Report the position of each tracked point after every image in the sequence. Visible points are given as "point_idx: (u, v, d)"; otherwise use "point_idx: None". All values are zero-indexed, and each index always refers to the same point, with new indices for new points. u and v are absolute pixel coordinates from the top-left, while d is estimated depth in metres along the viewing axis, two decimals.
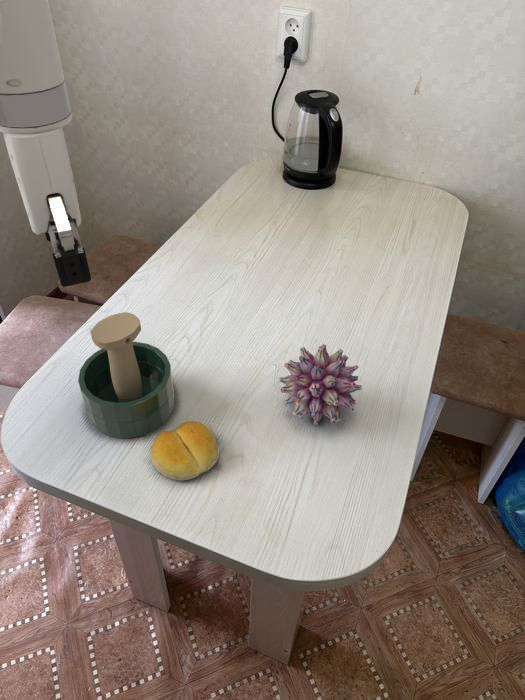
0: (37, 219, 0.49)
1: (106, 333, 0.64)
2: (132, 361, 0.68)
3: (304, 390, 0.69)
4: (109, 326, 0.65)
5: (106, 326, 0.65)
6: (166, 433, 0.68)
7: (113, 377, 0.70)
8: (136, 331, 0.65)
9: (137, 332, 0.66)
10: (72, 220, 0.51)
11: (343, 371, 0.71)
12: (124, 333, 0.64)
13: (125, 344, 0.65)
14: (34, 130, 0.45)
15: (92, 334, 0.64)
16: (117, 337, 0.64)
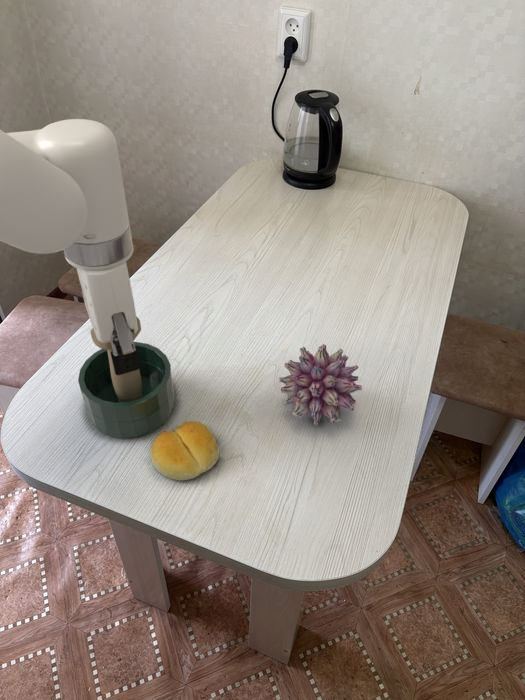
0: (103, 332, 0.59)
1: None
2: None
3: (304, 390, 0.69)
4: None
5: None
6: (166, 433, 0.68)
7: (113, 377, 0.70)
8: None
9: (137, 332, 0.66)
10: (129, 329, 0.62)
11: (343, 371, 0.71)
12: None
13: None
14: (105, 267, 0.55)
15: (92, 334, 0.64)
16: None
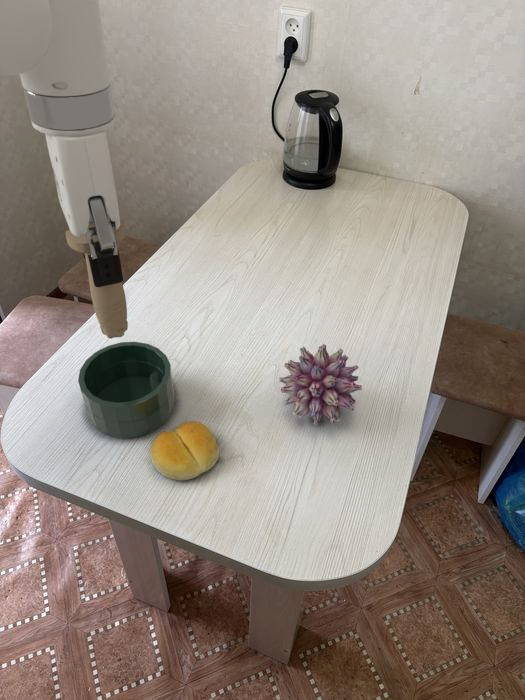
0: (78, 221, 0.49)
1: None
2: None
3: (304, 390, 0.69)
4: None
5: None
6: (166, 433, 0.68)
7: (93, 295, 0.60)
8: (119, 234, 0.56)
9: (121, 236, 0.56)
10: (110, 225, 0.52)
11: (343, 371, 0.71)
12: None
13: None
14: (80, 133, 0.45)
15: (67, 235, 0.54)
16: (97, 239, 0.54)
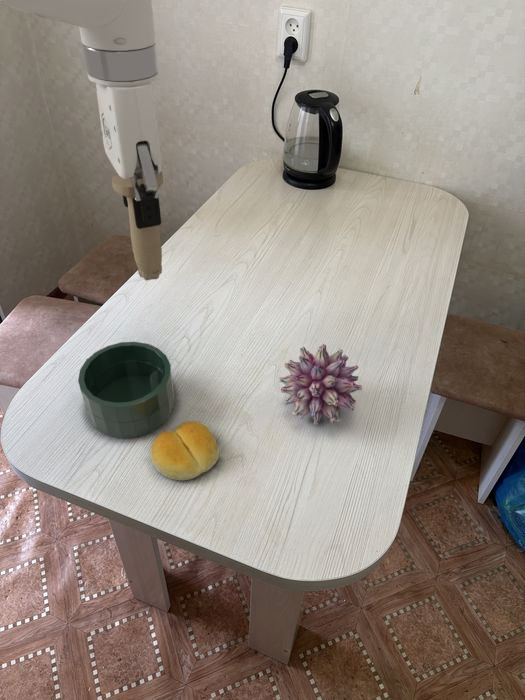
0: (127, 164, 0.56)
1: (128, 180, 0.62)
2: None
3: (304, 390, 0.69)
4: None
5: None
6: (166, 433, 0.68)
7: (133, 238, 0.68)
8: (158, 180, 0.63)
9: (159, 183, 0.64)
10: None
11: (343, 371, 0.71)
12: None
13: None
14: (131, 84, 0.53)
15: (113, 180, 0.62)
16: (139, 183, 0.62)
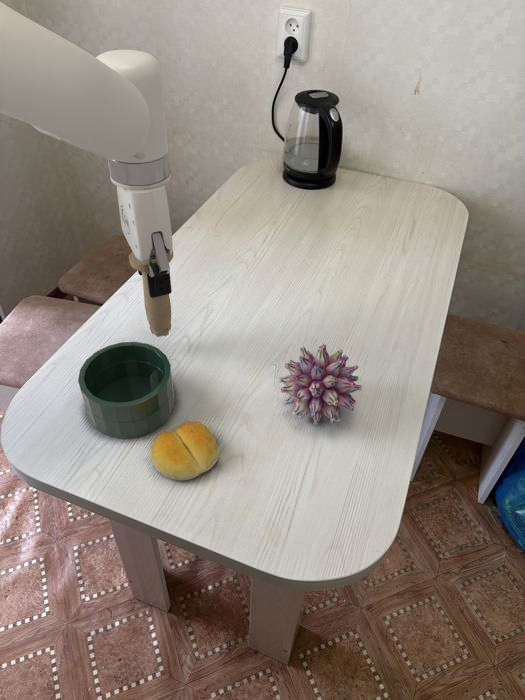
0: (143, 250, 0.65)
1: None
2: None
3: (304, 390, 0.69)
4: None
5: None
6: (166, 433, 0.68)
7: (146, 303, 0.76)
8: (169, 256, 0.72)
9: (170, 258, 0.72)
10: None
11: (343, 371, 0.71)
12: None
13: None
14: (148, 187, 0.61)
15: (130, 258, 0.71)
16: (153, 261, 0.70)
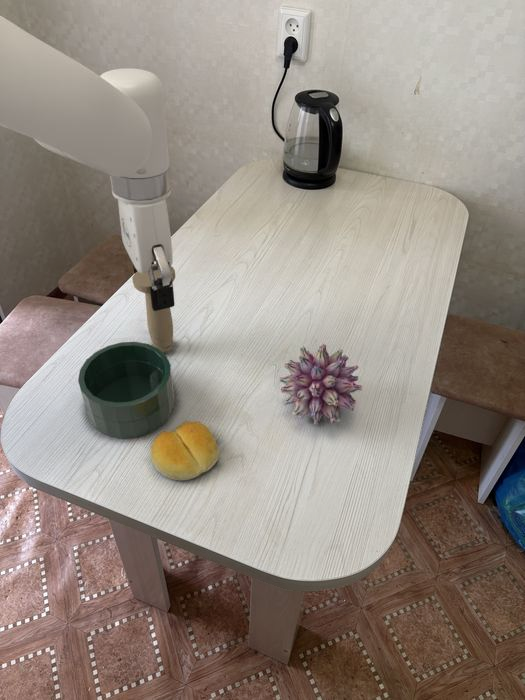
0: (143, 263, 0.66)
1: (146, 279, 0.73)
2: None
3: (304, 390, 0.69)
4: (147, 273, 0.74)
5: (145, 273, 0.74)
6: (166, 433, 0.68)
7: (149, 321, 0.79)
8: None
9: (172, 279, 0.75)
10: None
11: (343, 371, 0.71)
12: None
13: None
14: (149, 201, 0.63)
15: (134, 279, 0.73)
16: None
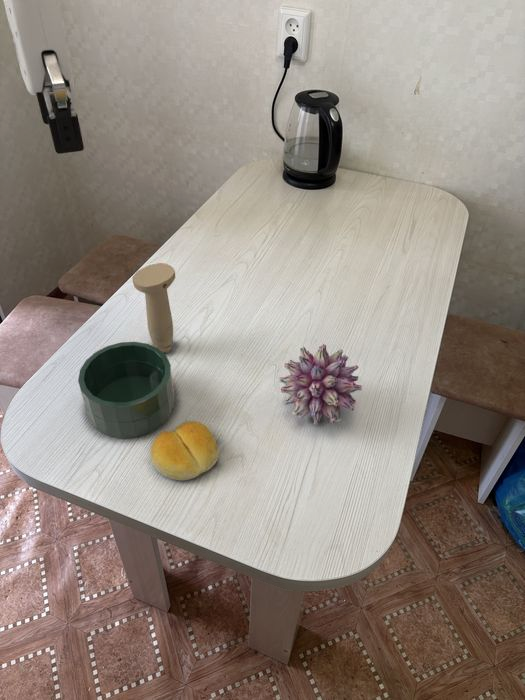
0: (33, 76, 0.53)
1: (146, 279, 0.73)
2: (166, 306, 0.78)
3: (304, 390, 0.69)
4: (147, 273, 0.74)
5: (145, 273, 0.74)
6: (166, 433, 0.68)
7: (149, 321, 0.79)
8: (171, 278, 0.75)
9: (172, 279, 0.75)
10: (66, 83, 0.55)
11: (343, 371, 0.71)
12: (161, 279, 0.74)
13: (162, 289, 0.74)
14: None
15: (134, 279, 0.73)
16: (156, 282, 0.73)
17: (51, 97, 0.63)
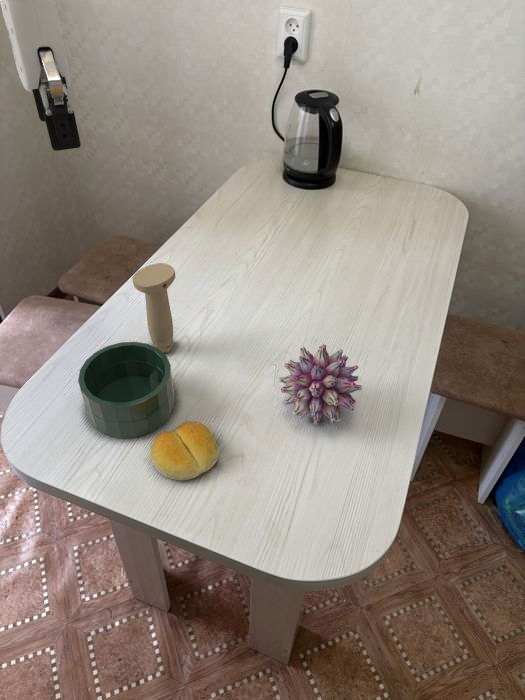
0: (29, 73, 0.53)
1: (146, 279, 0.73)
2: (166, 306, 0.78)
3: (304, 390, 0.69)
4: (147, 273, 0.74)
5: (145, 273, 0.74)
6: (166, 433, 0.68)
7: (149, 321, 0.79)
8: (171, 278, 0.75)
9: (172, 279, 0.75)
10: (62, 80, 0.55)
11: (343, 371, 0.71)
12: (161, 279, 0.74)
13: (162, 289, 0.74)
14: None
15: (134, 279, 0.73)
16: (156, 282, 0.73)
17: (47, 94, 0.63)
